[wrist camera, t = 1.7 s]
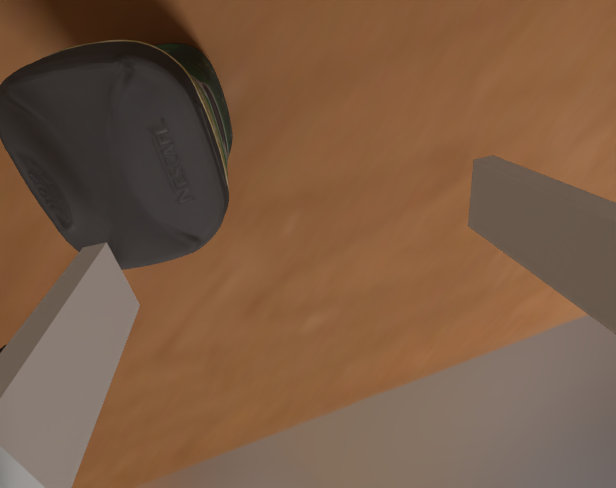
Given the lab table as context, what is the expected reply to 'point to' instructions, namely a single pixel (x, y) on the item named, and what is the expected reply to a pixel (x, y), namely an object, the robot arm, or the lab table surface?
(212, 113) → the coffee jar
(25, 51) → the lab table surface
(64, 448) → the robot arm
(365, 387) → the lab table surface
